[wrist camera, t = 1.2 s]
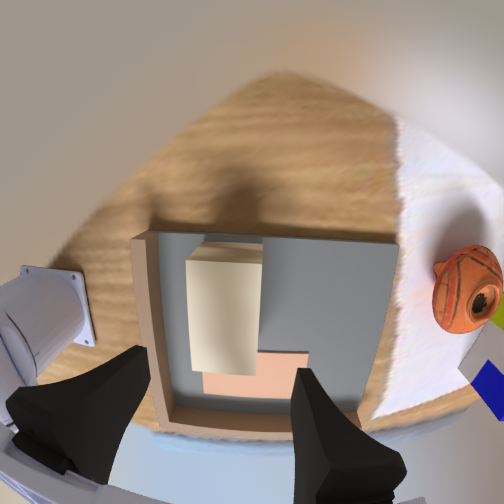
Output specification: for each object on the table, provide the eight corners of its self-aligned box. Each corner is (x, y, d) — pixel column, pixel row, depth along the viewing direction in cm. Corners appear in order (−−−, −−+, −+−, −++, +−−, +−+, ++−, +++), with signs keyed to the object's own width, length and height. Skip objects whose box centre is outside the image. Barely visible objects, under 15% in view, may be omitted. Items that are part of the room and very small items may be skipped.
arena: (167, 406, 27) (159, 427, 24) (147, 230, 22) (130, 239, 19) (352, 414, 26) (358, 435, 23) (395, 242, 21) (413, 253, 18)
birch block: (205, 334, 23) (192, 370, 19) (203, 241, 21) (185, 259, 16) (257, 338, 23) (255, 376, 18) (263, 243, 21) (262, 264, 16)
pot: (474, 315, 23) (499, 349, 16) (411, 310, 25) (427, 348, 18) (493, 240, 20) (528, 261, 14) (428, 229, 22) (455, 249, 16)
